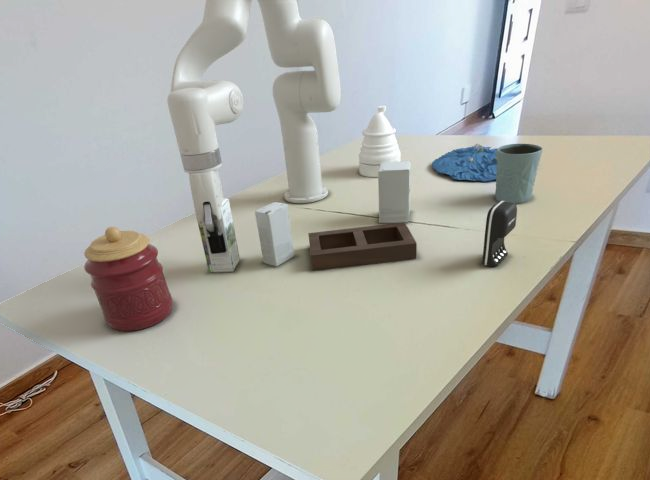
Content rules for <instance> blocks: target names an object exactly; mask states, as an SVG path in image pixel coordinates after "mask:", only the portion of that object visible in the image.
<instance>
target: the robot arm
mask: <svg viewBox="0 0 650 480" xmlns="http://www.w3.org/2000/svg"><path fill="white" fill-rule="evenodd" d="M252 1H253V0H205V5H204V11H203V17H202V21H201V23H200V24H199V26H197V27H196V29H195V30H194V31H193V32H192V34H191V36H189V38H188V39H187V41H186V42H185V44H184V46H182V48H181V50H180V51H179V53H178V55H177V56H176V60H175V62H174V66H173V71H172V76H171V84H170V93H169V94H168V95H167V101H166V102H167V106H168V107H167V108H168V110H169V115H170V118H171V122H172V123H171V124H172V127H173V132H174V135H175V140H176V143H177V147H178V151H179V156H180V159H181V163H182V167H183V172H185V173H187V174H188V178H189V186H190V191H191V197H192V202H193V207H194V212H196V213H195V218H196V221H197V223H198V222H199V223H202V222H203V220H204V218H205V225H206V231H207V238H208V242H209V246H210V250H211V253H212V254H217V253H225V252H226V246H225V241H224V236H223V233H222V234H221V228H220V223H219V221H220V220H221V219H222V216H221V206H222V203H223V198H225V196H224V192H223V187H222V182H221V177H220V173H219V169H220V168H221V167H222V166H223V161H222V156H221V151H220V147H219V142H218V135H217V132H216V126H219V125H226V124H231V123H233V122H235V121H236V120H237V119H239V118H240V116H241V114H242V112H243V108H244V96H243V92H242V91H241V89H240V87H239V86H238V85H237V84H236V83H234V82H232V81H229V80H225V79H217V80H216V79H215V80H202V77H203V76H204V74H205V72H206V71H207V70H208V69H209V68H210V67H211V65H213V64H214V63H215V62H216V61H218V60H219V59H220V58H222V57H224V56H226V55H227V54H229V53H230V52H232V51H233V50H235V49H236V48H237V47H238V46H241V44H242V43H243V42H244V41H245V39H246V36H247V31H248V25H249V17H250V13H251V12H250V11H251V6H252ZM256 1H257V3H258V6H259V8H260V12H261V16H262V22H263V26H264V30H265V35H266V39H267V44H268V45H267V46H268V50H269V53H270V57H271V59H272V62H273V63H274V65H275V66H277V67H280V68H285V69H287V68H289V69H291V68H305V67H313V69H314V70H295V71H287V72H284V73H281V74H279V75H278V76H276V78H275V79H274V81H273V83H272V98H273V102H274V105H275V107H276V112H277V116H278V119H279V124H280V130H281V131H280V132H281V139H282V145H283V154H284V160H285V167H286V168H285V169H286V177H287V184H288V185H287V186H288V190H287V191H285V193H284V195H283V196H284V200H285V201H287V202H289V203H293V204H308V203H313V202H317V201H321V200H323V199H325V198H327V196H328V195H329V189H328V188H327V187H326V186H323V181H322V169H321V168H322V167H321V157H320V147H319V136H318V135H319V134H318V129H317V125H316V123H315V121H314V119H313V118H312V117H311V115H310V114H311V113H313V114H314V113H318V114H319V113H331V112H333V111H335V110H337V109H338V107H339V106H340V103H341V98H342V88H341V87H342V86H341V77H340V69H339V63H338V55H337V47H336V39H335V35H334V32H333V29H332V27H331V25H330V24H329V23H328V22H327V20H325V19H322V18H309V19H307V18H306V19H303V18H302V17H301V16H300V11H299V5H298V0H256ZM214 216H216V219H215V220H212V217H214ZM213 223H216V225H217V227H216V226H215V225H214V224H213Z"/></svg>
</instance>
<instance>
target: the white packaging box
mask: <svg viewBox="0 0 650 480" xmlns="http://www.w3.org/2000/svg"><path fill="white" fill-rule="evenodd" d="M411 167H412V165H411V160H403V161H402V160H401V161H398V162H383V163H381V164H380V167H379V171H378V177H377V178H378V179H377V180H378V223H380V224H391V223H399V222H405V223H409V222H410V212H411V177H412V176H411V173H412V169H411Z"/></svg>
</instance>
